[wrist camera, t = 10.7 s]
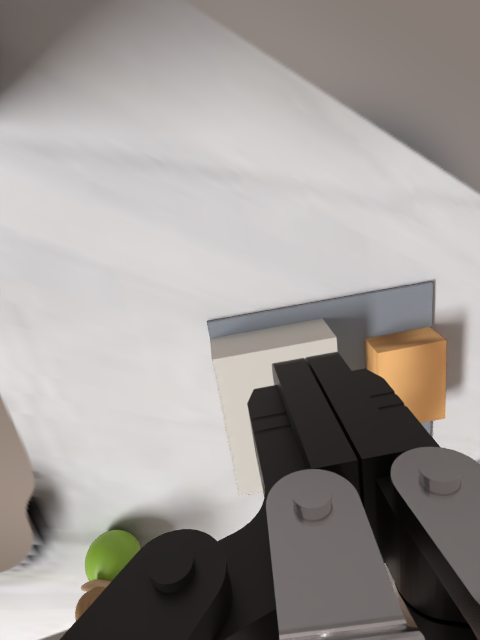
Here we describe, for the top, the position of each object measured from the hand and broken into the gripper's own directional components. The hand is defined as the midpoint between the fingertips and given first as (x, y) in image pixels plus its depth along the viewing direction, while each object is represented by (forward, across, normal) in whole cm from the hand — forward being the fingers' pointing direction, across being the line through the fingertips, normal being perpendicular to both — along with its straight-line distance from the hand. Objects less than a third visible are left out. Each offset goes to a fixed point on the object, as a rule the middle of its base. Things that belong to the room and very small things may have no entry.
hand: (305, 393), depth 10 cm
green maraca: (+27, +16, +31) cm, 44 cm away
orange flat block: (+24, -14, +17) cm, 32 cm away
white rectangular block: (+27, -2, +17) cm, 32 cm away
